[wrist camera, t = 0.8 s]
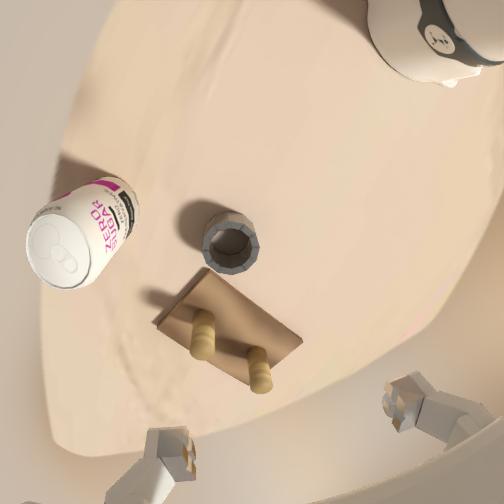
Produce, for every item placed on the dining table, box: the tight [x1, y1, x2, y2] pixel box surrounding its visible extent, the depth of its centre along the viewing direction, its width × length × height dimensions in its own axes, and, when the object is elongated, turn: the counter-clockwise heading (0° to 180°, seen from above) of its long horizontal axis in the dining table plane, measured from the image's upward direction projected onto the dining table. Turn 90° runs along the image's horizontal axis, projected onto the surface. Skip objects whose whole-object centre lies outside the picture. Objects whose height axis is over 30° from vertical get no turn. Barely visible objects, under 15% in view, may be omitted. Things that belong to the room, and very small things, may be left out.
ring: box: [201, 211, 260, 275], centre depth 38 cm, size 6×6×4 cm
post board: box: [157, 269, 303, 394], centre depth 41 cm, size 12×18×8 cm, turn 47°
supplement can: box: [26, 176, 140, 290], centre depth 30 cm, size 8×8×15 cm
